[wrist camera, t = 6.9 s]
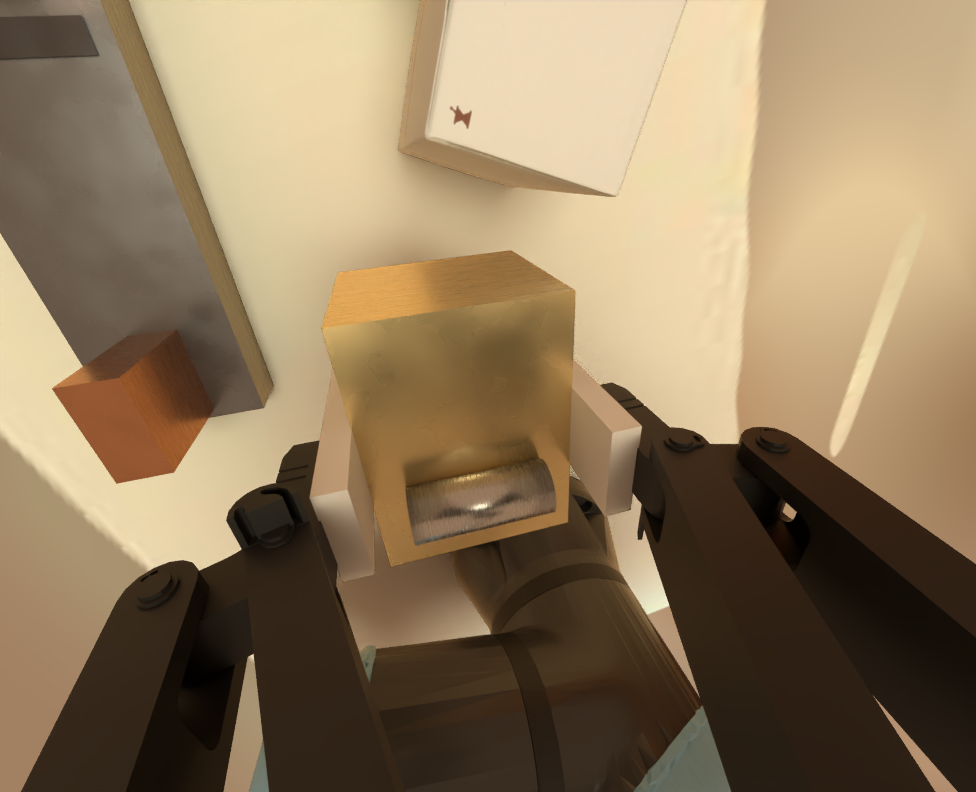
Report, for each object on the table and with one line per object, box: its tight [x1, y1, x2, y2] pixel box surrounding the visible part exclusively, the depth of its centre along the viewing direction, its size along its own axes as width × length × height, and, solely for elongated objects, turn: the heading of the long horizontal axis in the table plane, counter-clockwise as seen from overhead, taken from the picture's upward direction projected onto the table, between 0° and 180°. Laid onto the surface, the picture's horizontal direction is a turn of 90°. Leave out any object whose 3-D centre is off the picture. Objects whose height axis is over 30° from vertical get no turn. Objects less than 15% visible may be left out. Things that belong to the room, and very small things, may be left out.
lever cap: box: [321, 251, 575, 567], centre depth 13 cm, size 8×6×7 cm
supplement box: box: [398, 0, 687, 197], centre depth 18 cm, size 7×7×13 cm
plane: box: [0, 0, 273, 484], centre depth 17 cm, size 24×8×9 cm, turn 4°
